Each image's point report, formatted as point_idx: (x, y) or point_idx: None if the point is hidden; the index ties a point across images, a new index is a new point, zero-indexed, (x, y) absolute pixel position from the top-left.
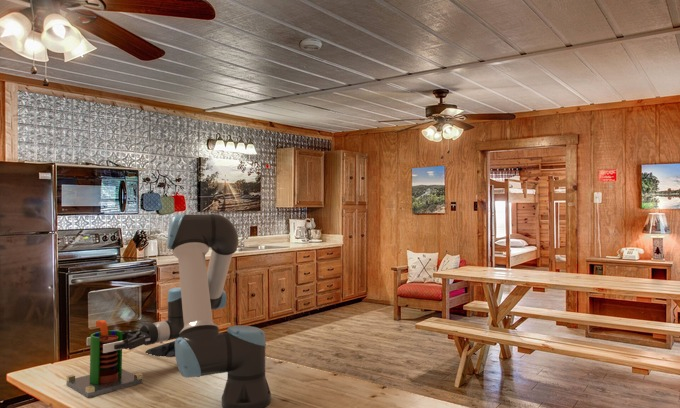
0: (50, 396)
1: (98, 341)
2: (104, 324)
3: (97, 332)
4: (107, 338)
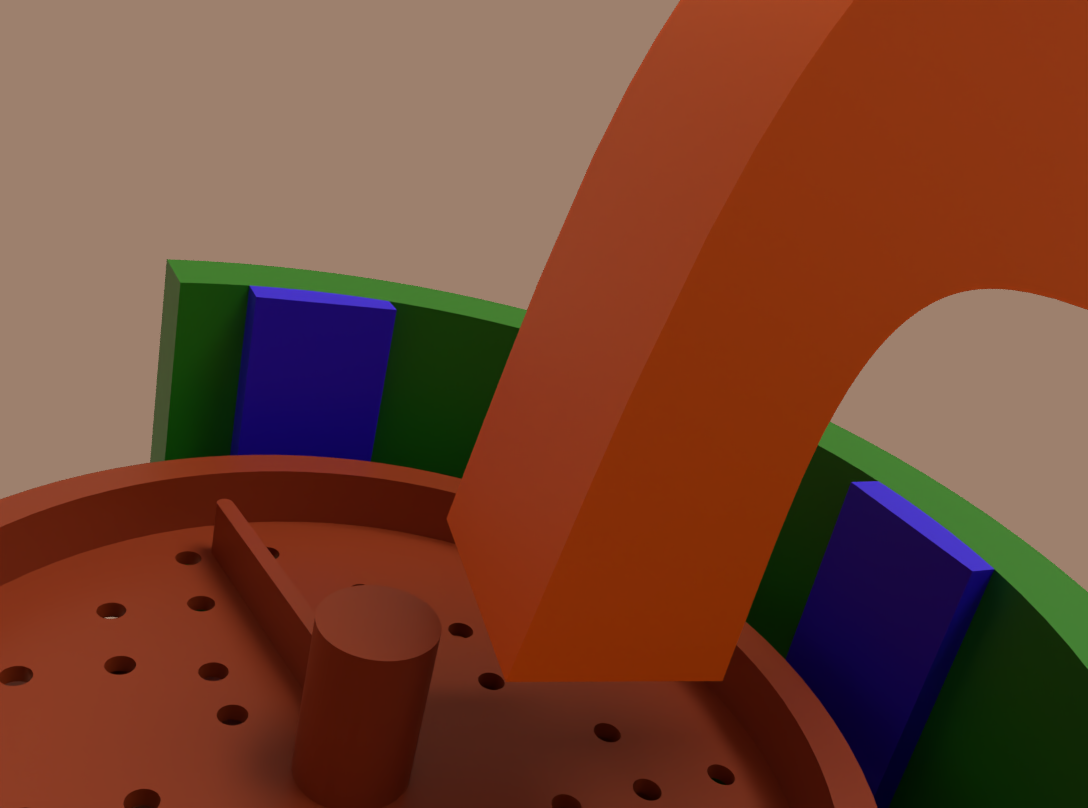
0: None
1: (166, 379)
2: (728, 33)
3: (1005, 563)
4: (301, 707)
